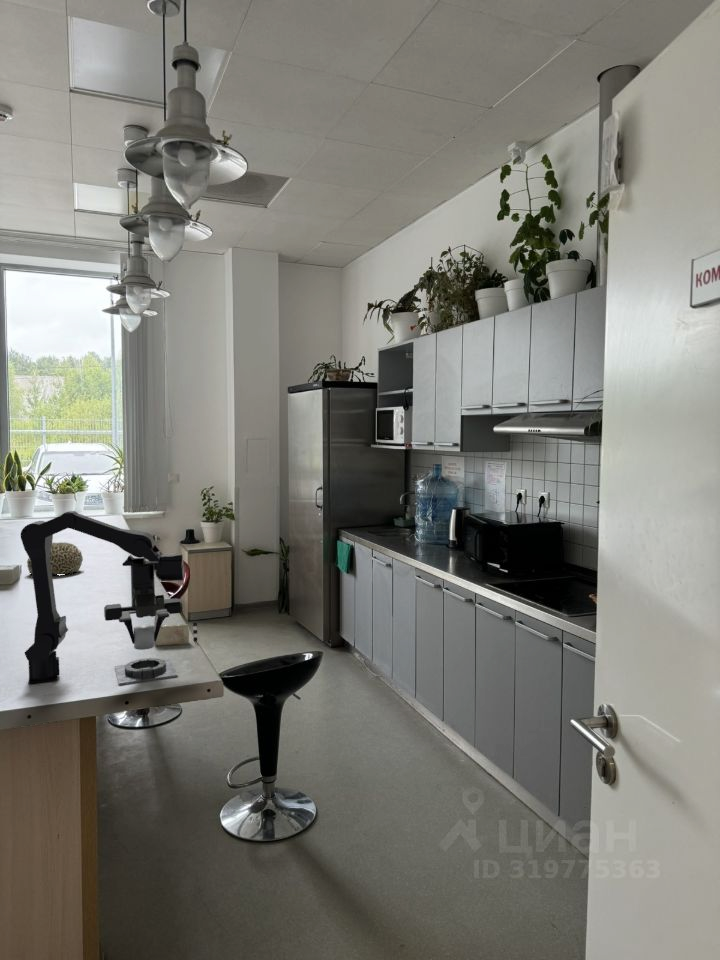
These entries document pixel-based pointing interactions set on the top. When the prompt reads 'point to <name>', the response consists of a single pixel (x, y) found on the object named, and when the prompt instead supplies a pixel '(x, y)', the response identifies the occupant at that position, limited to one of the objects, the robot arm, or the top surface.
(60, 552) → the coral
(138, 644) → the cap
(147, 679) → the notched ring on plate
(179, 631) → the cuneiform tablet
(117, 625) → the top surface
